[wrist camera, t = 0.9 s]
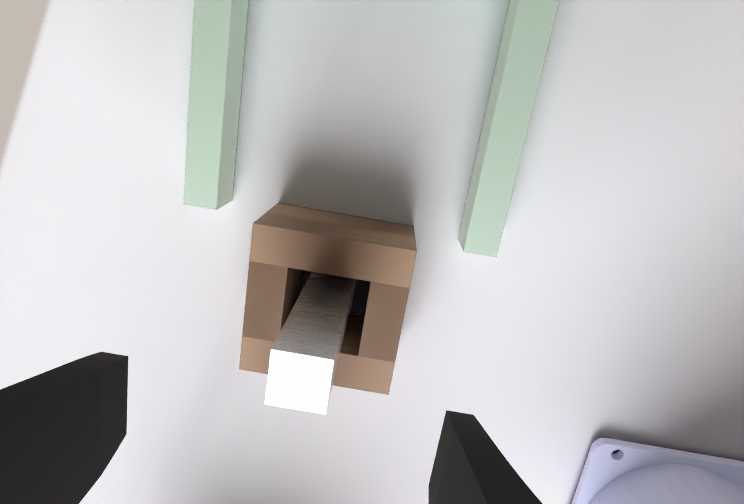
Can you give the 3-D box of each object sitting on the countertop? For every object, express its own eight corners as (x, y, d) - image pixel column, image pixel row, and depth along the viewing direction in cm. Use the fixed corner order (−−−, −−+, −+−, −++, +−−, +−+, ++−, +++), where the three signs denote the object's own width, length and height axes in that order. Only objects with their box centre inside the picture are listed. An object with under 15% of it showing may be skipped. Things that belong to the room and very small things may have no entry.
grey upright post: (358, 263, 20) (333, 360, 13) (352, 300, 21) (325, 414, 13) (319, 256, 20) (270, 349, 13) (314, 293, 21) (264, 404, 13)
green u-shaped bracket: (556, -46, 17) (574, -63, 15) (488, 243, 20) (496, 257, 18) (221, -102, 17) (200, -125, 15) (202, 195, 20) (183, 204, 18)
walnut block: (413, 226, 20) (416, 251, 16) (390, 348, 21) (388, 394, 18) (277, 203, 20) (253, 223, 16) (264, 327, 21) (239, 369, 18)
